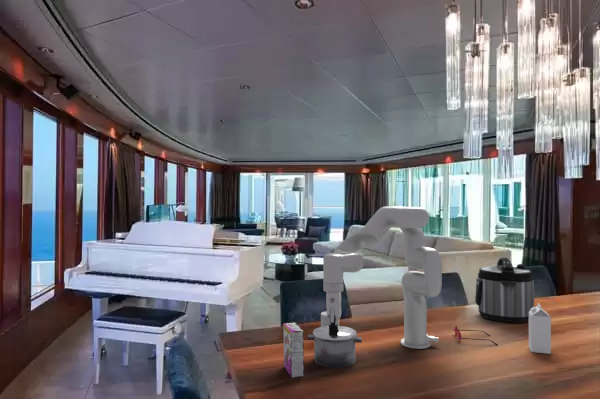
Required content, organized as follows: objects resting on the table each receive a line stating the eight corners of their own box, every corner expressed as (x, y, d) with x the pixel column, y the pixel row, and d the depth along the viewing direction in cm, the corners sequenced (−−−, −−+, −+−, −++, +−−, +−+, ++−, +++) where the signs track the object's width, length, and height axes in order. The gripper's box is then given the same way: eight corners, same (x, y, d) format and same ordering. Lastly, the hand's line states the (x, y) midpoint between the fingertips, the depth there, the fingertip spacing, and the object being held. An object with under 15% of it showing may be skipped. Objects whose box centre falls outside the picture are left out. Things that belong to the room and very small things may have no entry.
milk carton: (547, 348, 185) (547, 303, 185) (551, 354, 178) (550, 307, 178) (528, 347, 187) (528, 302, 187) (531, 352, 180) (531, 306, 180)
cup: (338, 343, 192) (338, 316, 192) (319, 342, 193) (319, 315, 193) (340, 338, 200) (340, 311, 200) (322, 337, 201) (322, 310, 201)
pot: (362, 353, 179) (362, 328, 179) (361, 369, 162) (361, 342, 162) (311, 350, 183) (311, 326, 183) (305, 366, 166) (305, 339, 166)
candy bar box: (282, 366, 165) (282, 323, 165) (295, 365, 166) (295, 322, 167) (290, 378, 154) (290, 331, 154) (304, 376, 156) (304, 330, 156)
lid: (357, 328, 179) (357, 323, 179) (355, 342, 162) (355, 336, 162) (315, 326, 182) (315, 321, 182) (310, 339, 165) (310, 334, 165)
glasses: (452, 334, 206) (452, 324, 206) (490, 336, 203) (490, 325, 203) (458, 344, 192) (458, 332, 192) (498, 346, 189) (498, 334, 189)
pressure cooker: (494, 308, 255) (494, 253, 255) (545, 318, 233) (545, 258, 233) (464, 316, 237) (464, 257, 237) (516, 328, 215) (516, 263, 215)
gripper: (342, 291, 158) (342, 342, 158) (344, 283, 173) (344, 330, 173) (321, 290, 159) (321, 341, 159) (325, 282, 174) (325, 329, 174)
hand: (333, 335), depth 166 cm, fingers closed
